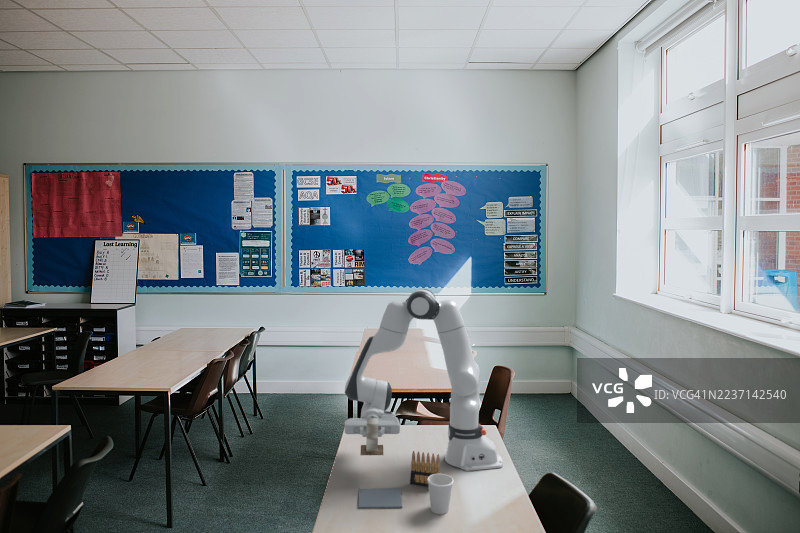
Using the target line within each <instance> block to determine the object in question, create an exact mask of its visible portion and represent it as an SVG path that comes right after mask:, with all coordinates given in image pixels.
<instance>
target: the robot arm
mask: <svg viewBox="0 0 800 533" xmlns="http://www.w3.org/2000/svg"><path fill="white" fill-rule="evenodd" d="M413 319H416V320H421V321H422V320H429V321H430V320H431V321H432V320H433V323H434V324H435V325H434V326H435V327H436V331H437V335H438V337H439V342H440V344H441V349H442V352H443V356H444V361H445V366H446V371H447V375H448V379H449V382H450V387H451V389H450V390H451V391H450V406H449V407H450V408H449V423H448V427H447V428H448V429H447V430H448V432H447V437H448V442H447V444H448V445H447V448H446V453H445V457H444V460H445V462H446V463H447V464H449V465H450V466H453V467H455V468H458V469H461V470H463V471H466V472H469V471H470V472H471V471H479V470H480V471H481V470H491V469H499V468H502V467H504V466H503V465H504V460H503V458H502V456H501V455H500V454H499V452H498V450H497V446H496V444H495V443H494V442H493V441H492V440H491V439H490V438H488V437H487V436H486V435H487V430H486V429H485V428H484V427H483V426H482V425H481V423H479V414H480V412H479V410H480V383H481V380H480V379H481V369H480V366H479V365H478V363H477V362H476V360H475V357H474V352H473V348H472V344H471V340H470V336H469V334H468V330H467V328H466V326H467V325H466V323H465V320H464V317H463V315H462V313H461V311H460V309H459V306H458V305H457V303H456V302H455V301H453V300H452V299H451V300H450V299H445V300H438V299H437V298H436V295H435V293H433V292H432V291H431V290H429V289H426V288H420V289H417V290H414V291H413V292H411V294H410V295H409V296H408V298H406V300H405V301H400V300H394V301H391V302H389V303H387V306H386V308H385V311H384V313H383V315H382V318H381V321H380V324H379V327H378V331H376V333H375V334H374V335H373V336H370V337H369V338H368V339H367V340H366V341H365V343H364V346H363V348H362V350H361V352H360V355H359V356H358V358H357V361H356V363H355V365H354V367H353V370H352V372H351V374H350V376H349V377H348V379H347V380H346V383H345V386H344V394H345V395H346V397H347V398H348V399H349V400H350V401H356V402H362V403H363V405H362V408H361V410H360V411H361V412H360V418H359V417H350V418H348V419H347V420H345V421H344V434H346V435H361V436H362V438H366V437H367V418H378V438H382V437H383V435H398V434H400V433H401V432H400V431H401V424H400V420H399V418H398V417H396V412H392V411H387V410H388V409H389V408H390V405H391V402H392V396H393V390H392V389H393V388H392V386H391V384H390V382H389V381H386V380H381V379H377V378H373V377H369V376H364V375H363V374H364V372H365V370H366V367H367V365H368V363H369V361H370V359H371V357H373V356H375V355H378V354H384V353H390V352H395V351H397V350H399V349H400V348H401V347H402V346H403V345H404V343H405V341H406V338H407V335H408V331H409V327H410V324H411V322H412V320H413Z"/></svg>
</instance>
